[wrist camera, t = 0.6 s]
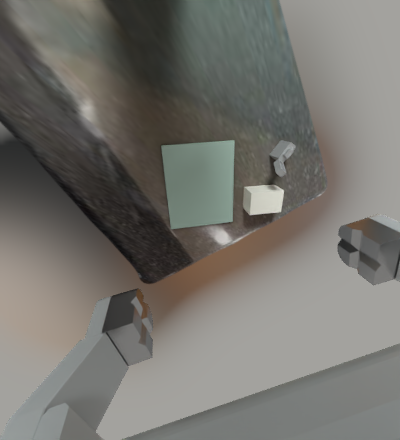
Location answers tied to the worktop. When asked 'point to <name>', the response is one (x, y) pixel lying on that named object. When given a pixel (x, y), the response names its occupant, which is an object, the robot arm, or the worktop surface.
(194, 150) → the mat
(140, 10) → the worktop surface
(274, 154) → the lighter
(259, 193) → the card box
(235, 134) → the worktop surface
